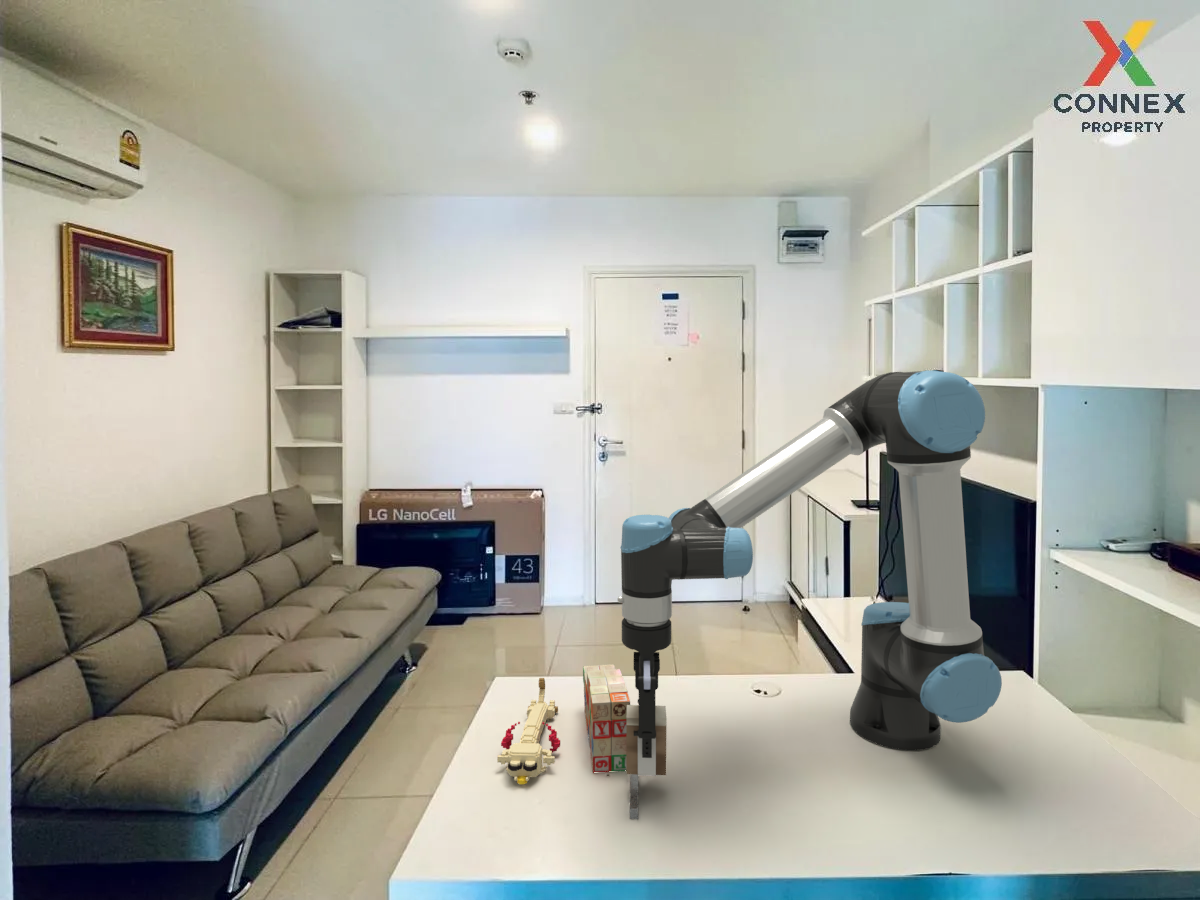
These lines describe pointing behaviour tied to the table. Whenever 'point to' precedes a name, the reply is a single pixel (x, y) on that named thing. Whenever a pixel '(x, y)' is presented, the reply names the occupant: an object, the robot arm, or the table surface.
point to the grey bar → (633, 796)
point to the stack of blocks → (606, 716)
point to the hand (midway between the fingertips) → (646, 765)
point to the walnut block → (632, 740)
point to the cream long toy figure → (531, 741)
